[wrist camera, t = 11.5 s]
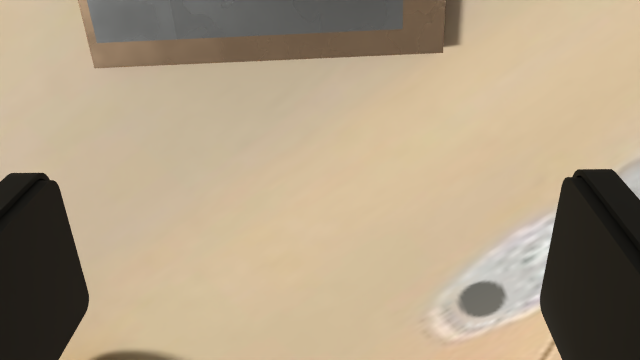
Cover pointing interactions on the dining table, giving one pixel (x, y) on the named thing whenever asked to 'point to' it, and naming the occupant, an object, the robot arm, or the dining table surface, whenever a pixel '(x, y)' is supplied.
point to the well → (257, 30)
